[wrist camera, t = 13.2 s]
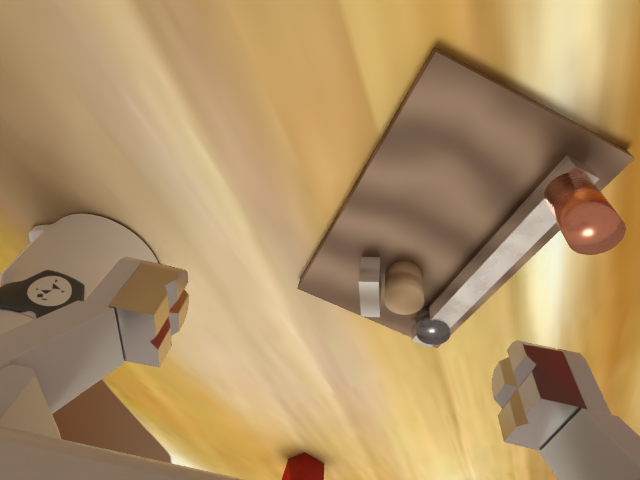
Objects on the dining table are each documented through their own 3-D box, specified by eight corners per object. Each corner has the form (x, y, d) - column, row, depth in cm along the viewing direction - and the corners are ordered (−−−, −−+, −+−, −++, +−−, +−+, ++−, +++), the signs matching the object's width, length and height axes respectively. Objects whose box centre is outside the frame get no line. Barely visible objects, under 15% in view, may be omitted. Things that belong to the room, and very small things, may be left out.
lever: (433, 334, 50) (438, 396, 43) (406, 323, 49) (407, 384, 43) (595, 168, 35) (640, 224, 28) (559, 150, 35) (596, 202, 28)
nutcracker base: (436, 338, 53) (439, 375, 49) (299, 280, 51) (290, 313, 46) (626, 150, 36) (658, 181, 32) (434, 47, 33) (439, 65, 29)
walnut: (410, 293, 47) (410, 319, 44) (378, 279, 47) (377, 305, 44) (429, 270, 45) (432, 296, 42) (396, 255, 44) (396, 280, 41)
